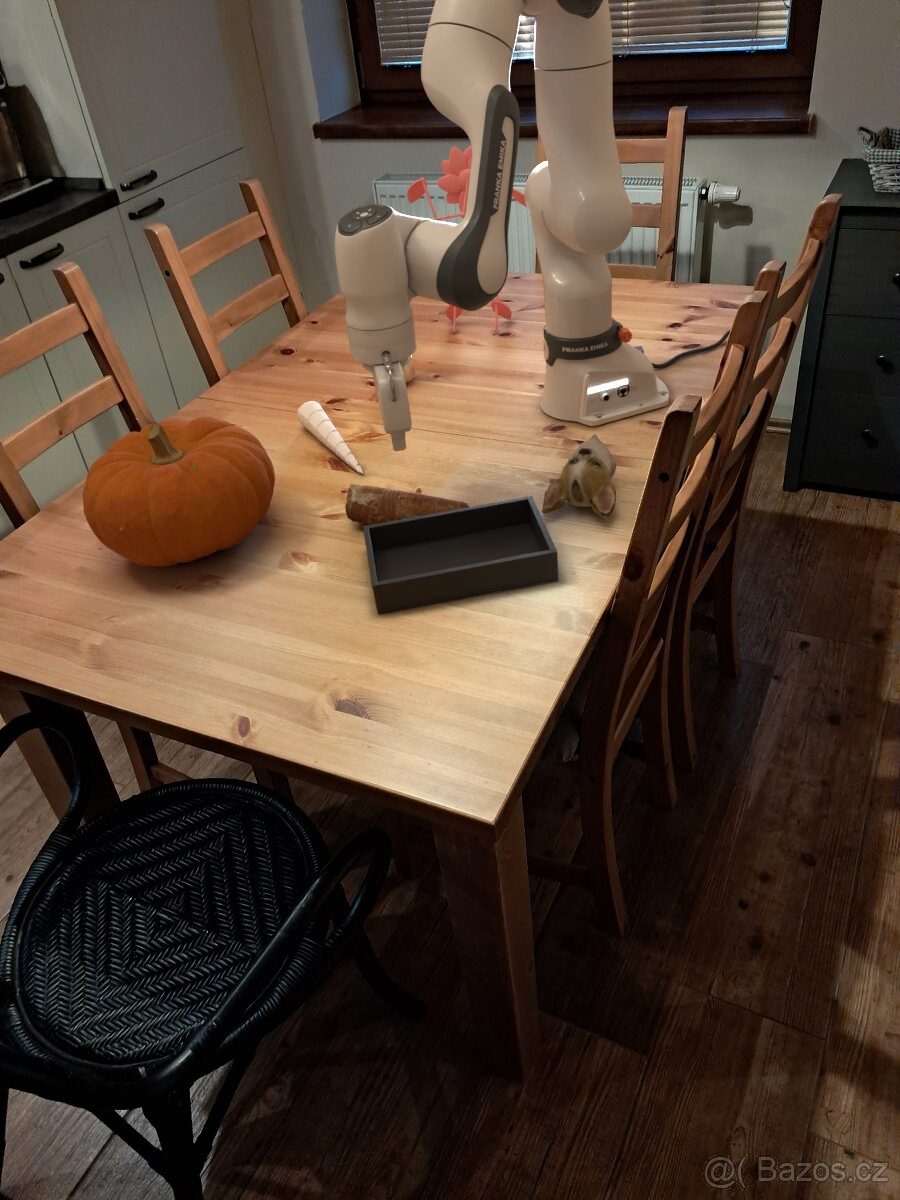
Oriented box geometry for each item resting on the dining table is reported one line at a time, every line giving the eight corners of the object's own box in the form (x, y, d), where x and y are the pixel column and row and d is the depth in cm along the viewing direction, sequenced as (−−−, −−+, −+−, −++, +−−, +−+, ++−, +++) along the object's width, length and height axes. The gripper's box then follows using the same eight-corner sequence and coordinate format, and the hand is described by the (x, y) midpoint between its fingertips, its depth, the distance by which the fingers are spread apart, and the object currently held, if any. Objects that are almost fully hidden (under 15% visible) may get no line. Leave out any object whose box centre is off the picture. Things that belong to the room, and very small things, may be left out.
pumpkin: (203, 613, 125) (158, 488, 113) (66, 570, 137) (12, 454, 125) (322, 506, 144) (295, 389, 131) (192, 477, 156) (156, 368, 143)
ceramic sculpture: (630, 426, 134) (609, 484, 124) (630, 475, 140) (611, 534, 130) (560, 422, 138) (534, 478, 128) (563, 470, 144) (539, 527, 134)
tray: (533, 523, 133) (531, 495, 130) (558, 581, 122) (557, 552, 119) (368, 553, 132) (362, 526, 129) (377, 614, 120) (372, 586, 117)
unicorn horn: (341, 483, 149) (336, 457, 146) (299, 427, 166) (293, 403, 163) (368, 474, 150) (363, 448, 147) (323, 420, 168) (318, 396, 165)
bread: (359, 508, 142) (353, 477, 139) (476, 516, 136) (473, 484, 133) (344, 530, 137) (337, 499, 134) (465, 540, 132) (461, 507, 128)
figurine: (535, 333, 188) (525, 150, 166) (416, 334, 195) (392, 158, 173) (547, 305, 199) (540, 130, 178) (435, 307, 206) (414, 138, 185)
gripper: (415, 366, 112) (427, 464, 121) (397, 309, 128) (409, 399, 137) (365, 374, 112) (380, 472, 120) (353, 316, 128) (368, 406, 136)
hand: (395, 432), depth 129 cm, fingers open, 8 cm apart
